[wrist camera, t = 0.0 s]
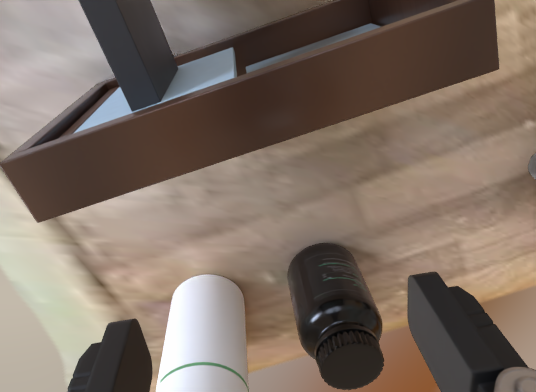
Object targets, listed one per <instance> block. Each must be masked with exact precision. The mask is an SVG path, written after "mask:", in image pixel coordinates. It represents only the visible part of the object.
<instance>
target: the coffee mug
mask: <svg viewBox="0 0 536 392" xmlns="http://www.w3.org/2000/svg"><path fill="white" fill-rule="evenodd" d="M528 170H529V173H530V174H531V176H532V177H533V178H534V179H535V180H536V153H535V154H534V155H533V156H532V157H531V159H530V161H529V164H528Z"/></svg>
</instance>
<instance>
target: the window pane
mask: <svg viewBox="0 0 536 392" xmlns="http://www.w3.org/2000/svg"><path fill="white" fill-rule="evenodd" d="M79 2H80V4H81V6H82V8H83V10H84V13H85V15H86V17H87V19H88V21H89V23H90V25H91V27H92V29H93V31H94V33H95V36H96V38H97V40H98V42H99V44H100V46H101V48H102V50H103V52H104V54H105V56H106V59H107V61H108V63H109V65H110V67H111V69H112V71H113V73H114V75H115V77H116V79H117V82H118V84H119V86H120V87H115V88H113V89H110V90H109V91H108V92H107V93H106V94H105V95H104V96H102V97H101V98H100V99H99V100H98V101H97V102H96V103H95V104H94V105H93V106H92V107H91V108H90V109H89V110H88V111H87V112H86V113H85V114H84V115H82V116H81V117H80V118H79V119H78V120H77V121H76V122H75V123H74V124H73V125H72V126H71V127H70V128H69V129H68V130H67V131H66V132H65V133H63V134H62V135H61V136H60V137H59V138H61V137H64V136H67V135H70V134H73V133H76V132H79V131H82V130H85V129H88V128H90V127H93V126H96V125H99V124H102V123H105V122H108V121H111V120H114V119H116V118H119V117H122V116H125V115H128V114H131V113H134V112H137V111H140V110H142V109H145V108H148V107H151V106H154V105H157V104H160V103H163V102H166V101H168V100H171V99H174V98H177V97H180V96H183V95H186V94H189V93H192V92H194V91H197V90H200V89H203V88H206V87H209V86H212V85H215V84H218V83H220V82H223V81H226V80H229V79H232V78H235V77H237V72H236V61H235V52H234V49H233V47H231V48H229V49H226V50H223V51H220V52H217V53H214V54H211V55H209V56H206V57H203V58H200V59H197V60H194V61H192V62H189V63H186V64H183V65H180V66H177V64H176V62H175V59H174V57H173V55H172V52H171V50H170V47H169V45H168V42H167V40H166V37H165V35H164V33H163V30H162V28H161V25H160V23H159V20H158V18H157V15H156V13H155V11H154V8H153V6H152V3H151V1H150V0H79ZM59 138H58V139H59Z"/></svg>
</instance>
